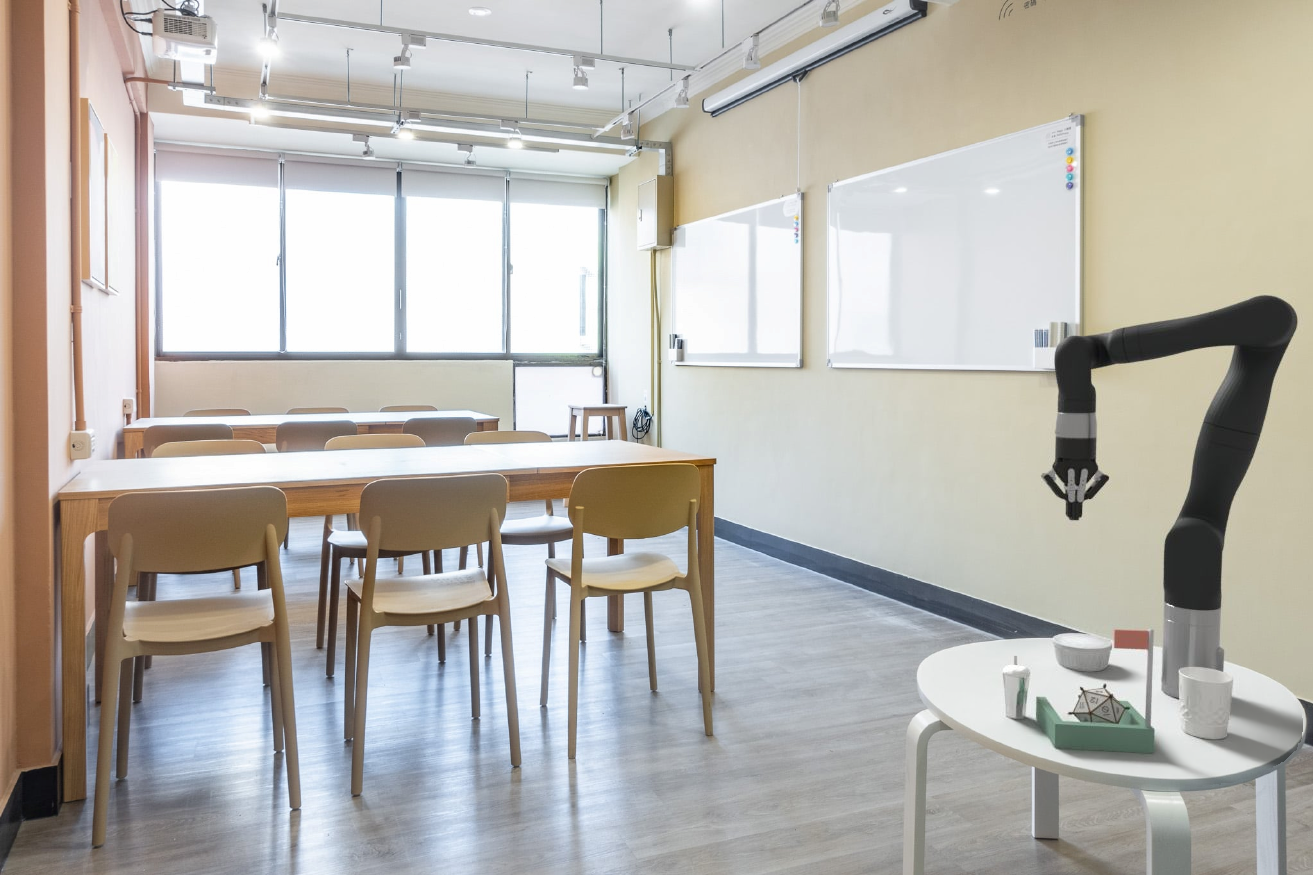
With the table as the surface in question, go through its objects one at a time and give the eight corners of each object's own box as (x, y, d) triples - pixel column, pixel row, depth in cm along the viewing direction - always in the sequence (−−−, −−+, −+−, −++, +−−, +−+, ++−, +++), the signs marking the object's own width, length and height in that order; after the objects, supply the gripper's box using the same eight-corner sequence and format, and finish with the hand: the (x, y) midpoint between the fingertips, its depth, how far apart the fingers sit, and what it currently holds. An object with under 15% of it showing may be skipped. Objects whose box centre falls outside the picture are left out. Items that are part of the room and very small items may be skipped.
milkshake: (1028, 711, 162) (1029, 657, 161) (1030, 722, 157) (1031, 666, 156) (1001, 708, 164) (1002, 654, 163) (1002, 719, 159) (1003, 663, 158)
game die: (1096, 750, 154) (1109, 695, 158) (1132, 751, 146) (1145, 694, 150) (1052, 726, 153) (1067, 672, 157) (1086, 727, 145) (1101, 669, 149)
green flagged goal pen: (1126, 723, 156) (1130, 610, 155) (1153, 753, 144) (1157, 631, 142) (1035, 718, 159) (1038, 607, 157) (1054, 747, 146) (1057, 627, 145)
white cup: (1231, 745, 147) (1233, 685, 146) (1175, 735, 151) (1177, 677, 150) (1230, 728, 153) (1233, 671, 153) (1177, 719, 158) (1179, 664, 157)
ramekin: (1042, 664, 188) (1043, 640, 187) (1065, 653, 195) (1066, 629, 195) (1098, 678, 179) (1099, 652, 179) (1120, 665, 187) (1120, 640, 187)
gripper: (1046, 436, 179) (1044, 522, 180) (1117, 436, 177) (1114, 523, 178) (1036, 433, 186) (1034, 516, 187) (1104, 433, 184) (1102, 517, 185)
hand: (1073, 519), depth 183 cm, fingers closed
